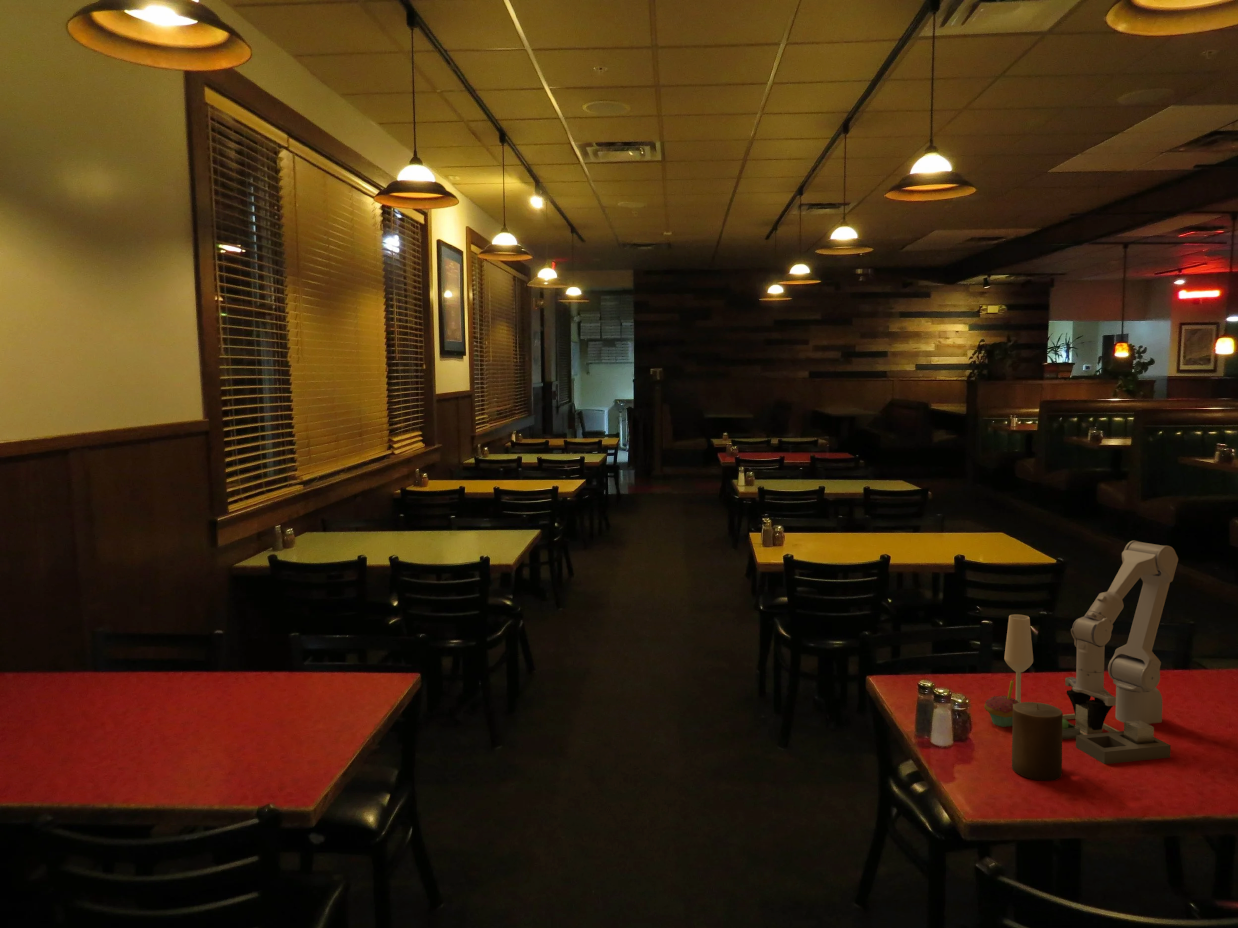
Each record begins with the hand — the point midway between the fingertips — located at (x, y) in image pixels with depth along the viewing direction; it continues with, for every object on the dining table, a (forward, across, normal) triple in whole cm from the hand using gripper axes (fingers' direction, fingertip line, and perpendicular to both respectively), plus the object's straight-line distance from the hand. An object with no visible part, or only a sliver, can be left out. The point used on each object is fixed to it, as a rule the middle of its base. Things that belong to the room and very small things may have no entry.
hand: (1088, 724), depth 202 cm
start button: (+2, +1, -8) cm, 8 cm away
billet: (+1, 0, 0) cm, 1 cm away
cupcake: (+2, -8, -16) cm, 19 cm away
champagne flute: (+2, -18, -6) cm, 19 cm away
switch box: (+2, 0, -8) cm, 8 cm away
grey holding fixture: (+2, +12, -2) cm, 13 cm away
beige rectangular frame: (+2, 0, 0) cm, 2 cm away
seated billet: (+1, +12, +2) cm, 13 cm away
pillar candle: (+2, +16, -24) cm, 29 cm away
